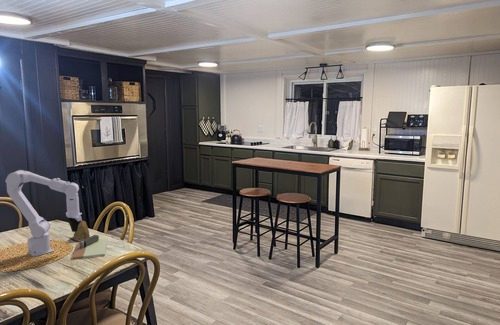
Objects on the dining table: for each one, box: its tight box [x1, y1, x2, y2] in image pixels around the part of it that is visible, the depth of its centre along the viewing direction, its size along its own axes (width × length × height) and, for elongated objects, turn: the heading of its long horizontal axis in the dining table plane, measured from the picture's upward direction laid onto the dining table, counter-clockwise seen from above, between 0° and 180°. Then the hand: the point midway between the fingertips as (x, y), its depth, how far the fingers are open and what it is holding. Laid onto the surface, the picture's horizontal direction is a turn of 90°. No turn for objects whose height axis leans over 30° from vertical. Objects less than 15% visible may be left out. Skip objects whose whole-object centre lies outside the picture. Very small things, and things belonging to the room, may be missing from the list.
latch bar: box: [81, 234, 100, 246], centre depth 187 cm, size 9×3×3 cm, turn 163°
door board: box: [71, 238, 109, 260], centre depth 181 cm, size 22×15×4 cm
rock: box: [72, 219, 91, 241], centre depth 197 cm, size 11×9×10 cm
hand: (74, 231), depth 180 cm, fingers closed
